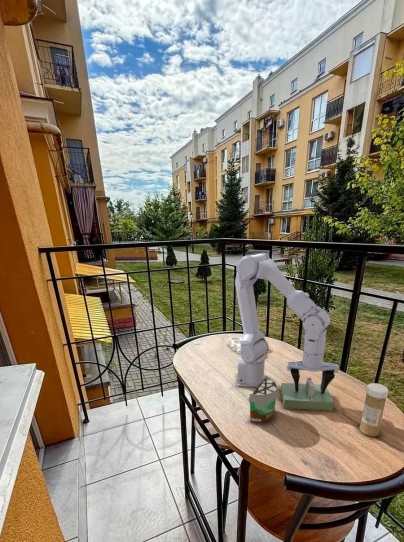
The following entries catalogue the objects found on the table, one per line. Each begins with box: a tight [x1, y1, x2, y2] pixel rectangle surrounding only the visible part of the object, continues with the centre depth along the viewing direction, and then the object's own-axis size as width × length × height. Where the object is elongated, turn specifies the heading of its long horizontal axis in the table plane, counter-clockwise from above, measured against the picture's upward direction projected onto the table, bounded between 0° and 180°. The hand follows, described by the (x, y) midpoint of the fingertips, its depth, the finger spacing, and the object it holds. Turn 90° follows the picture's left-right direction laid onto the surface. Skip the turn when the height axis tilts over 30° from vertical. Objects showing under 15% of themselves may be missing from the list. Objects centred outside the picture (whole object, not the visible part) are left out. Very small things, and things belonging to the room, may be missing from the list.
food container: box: [248, 375, 280, 425], centre depth 80 cm, size 12×6×10 cm, turn 148°
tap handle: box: [305, 376, 315, 397], centre depth 87 cm, size 5×1×4 cm, turn 170°
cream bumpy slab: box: [228, 336, 243, 355], centre depth 127 cm, size 3×18×15 cm
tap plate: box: [280, 382, 335, 412], centre depth 88 cm, size 14×10×3 cm
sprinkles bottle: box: [359, 382, 389, 437], centre depth 72 cm, size 5×5×14 cm
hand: (309, 390), depth 87 cm, fingers open, 7 cm apart
